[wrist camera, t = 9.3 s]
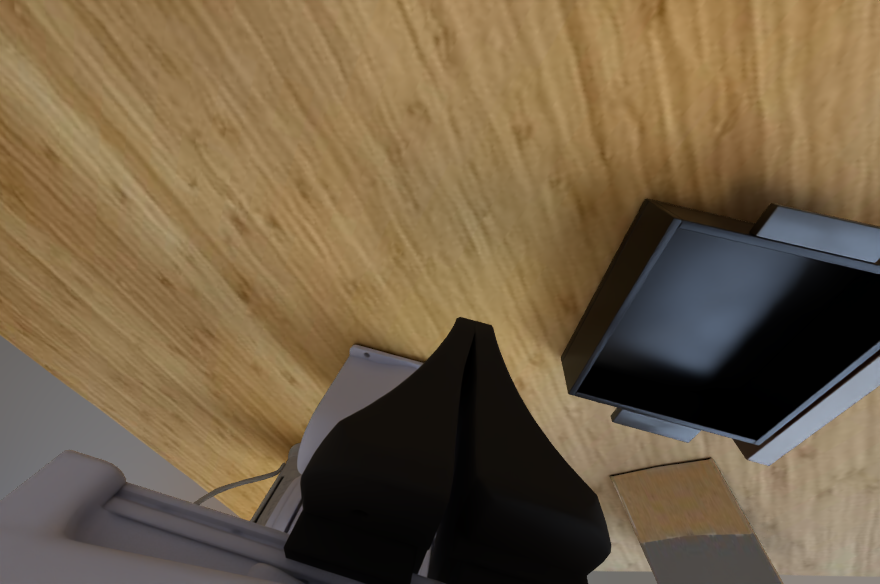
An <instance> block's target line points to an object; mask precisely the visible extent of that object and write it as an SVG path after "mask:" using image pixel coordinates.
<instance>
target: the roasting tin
mask: <svg viewBox="0 0 880 584" xmlns="http://www.w3.org/2000/svg"><path fill="white" fill-rule="evenodd" d="M878 350H880V226H875V225H871V224H866V223H862V222H857V221H853V220H848V219H844V218H839V217H835V216H830V215H826V214H821V213H817V212H812V211H808V210H803V209H799V208H794V207H790V206H785V205H781V204H776V203H770V205H769V206H768V207H767V209H766V210H765V211H764V213H763V214H762V215H761V217H760V218H759V219H758V221H757V222H756V223H752V222H748V221H743V220H739V219H734V218H730V217H726V216H721V215H717V214H712V213H708V212H704V211H699V210H695V209H690V208H686V207H681V206H677V205H673V204H668V203H664V202H659V201H655V200H651V199H645V201H644V202H643V204H642V206H641V208H640V210H639V212H638V214H637V216H636V217H635V219H634V221H633V223H632V225H631V227H630V229H629V231H628V233H627V234H626V236H625V238H624V240H623V242H622V244H621V246H620V248H619V249H618V251H617V253H616V255H615V257H614V259H613V261H612V263H611V265H610V266H609V268H608V270H607V272H606V274H605V276H604V278H603V280H602V281H601V283H600V285H599V287H598V289H597V291H596V293H595V295H594V296H593V298H592V300H591V302H590V304H589V306H588V308H587V310H586V312H585V313H584V315H583V317H582V319H581V321H580V323H579V325H578V327H577V328H576V330H575V332H574V334H573V336H572V338H571V340H570V342H569V344H568V345H567V347H566V349H565V351H564V353H563V355H562V357H561V361H562V365H563V370H564V375H565V380H566V385H567V390H568V394H570V395H575V396H577V397H581V398H585V399H588V400H592V401H596V402H599V403H603V404H607V405H611V406H614V407H617V408H616V410H615V411H614V412H613V414H612V415H611V419H612V422H614V423H618V424H622V425H625V426H629V427H633V428H636V429H640V430H644V431H647V432H651V433H654V434H658V435H662V436H665V437H669V438H673V439H676V440H680V441H684V442H687V443H688V442H690V441H691V440H692V439H693V438H694V437H695V436H696V435H697V434H698V433H699V432H700V431H701V430H703V431H707V432H710V433H714V434H718V435H722V436H725V437H729V438H733V439H736V440H740V441H744V442H747V443H751V444H755V445H760V444H761V443H763V442H764V441H765V440H766V439H768V438H769V437H770V436H771V435H773V434H774V433H775V432H777V431H778V430H779V429H780V428H782V427H783V426H784V425H785V424H787V423H788V422H789V421H790V420H792V419H793V418H794V417H795V416H797V415H798V414H799V413H800V412H802V411H803V410H804V409H805V408H807V407H808V406H809V405H810V404H812V403H813V402H814V401H815V400H817V399H818V398H819V397H820V396H822V395H823V394H824V393H826V392H827V391H828V390H829V389H831V388H832V387H833V386H834V385H836V384H837V383H838V382H839V381H841V380H842V379H843V378H844V377H846V376H847V375H848V374H849V373H851V372H852V371H853V370H854V369H856V368H857V367H858V366H859V365H861V364H862V363H863V362H864V361H866V360H867V359H868V358H869V357H871V356H872V355H873V354H874V353H876V352H877V351H878Z"/></svg>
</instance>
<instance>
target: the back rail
mask: <svg viewBox="0 0 880 584" xmlns="http://www.w3.org/2000/svg"><path fill="white" fill-rule="evenodd" d="M879 385H880V350H878V351H877V352H876V353H874V354H873V355H872V356H871V357H869V358H868V359H867V360H866V361H864V362H863V363H862V364H861V365H859V366H858V367H857V368H856V369H854V370H853V371H852V372H851V373H849V374H848V375H847V376H846V377H844V378H843V379H842V380H841V381H839V382H838V383H837V384H836V385H834V386H833V387H832V388H831V389H829V390H828V391H827V392H826V393H824V394H823V395H822V396H820V397H819V398H818V399H817V400H815V401H814V402H813V403H812V404H810V405H809V406H808V407H807V408H805V409H804V410H803V411H802V412H800V413H799V414H798V415H797V416H795V417H794V418H793V419H792V420H790V421H789V422H788V423H787V424H785V425H784V426H783V427H782V428H780V429H779V430H778V431H777V432H775V433H774V434H773V435H771V436H770V437H769V438H768V439H766V440H765V441H764V442H763V443H761V444H760V445H755V444H751V443H747V442H744V441H740V440H736V439H733V438H732V439H733V440H734V442H735V443H736V445H737V446H738V448H739V449H740V451H741V452H742V454H743V455H744V457H745V458H746V459H747V460H749V461H753V462H757V463H760V464H764V465H767V466H770V465H771V464H772V463H774V462H775V461H776V460H778V459H779V458H781V457H782V456H783V455H785V454H786V453H787V452H789V451H790V450H792V449H793V448H794V447H796V446H797V445H798V444H800V443H801V442H803V441H804V440H805V439H807V438H808V437H809V436H811V435H812V434H814V433H815V432H816V431H818V430H819V429H820V428H822V427H823V426H825V425H826V424H827V423H829V422H830V421H831V420H833V419H834V418H835V417H837V416H838V415H840V414H841V413H842V412H844V411H845V410H846V409H848V408H849V407H851V406H852V405H853V404H855V403H856V402H857V401H859V400H860V399H862V398H863V397H864V396H866V395H867V394H868V393H870V392H871V391H873V390H874V389H875V388H877V387H878V386H879Z"/></svg>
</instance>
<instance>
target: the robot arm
mask: <svg viewBox="0 0 880 584" xmlns="http://www.w3.org/2000/svg"><path fill="white" fill-rule="evenodd" d="M367 353H368V354H367ZM297 469H298V472H299V473H300V474H302V475H301V476H299V477H297V478H295V479H294V480H293V481H292V483H291V484H290V485H289V487H288V488H287V490H286V491H285V493H284V494H283V496H282V497H281V499H280V501H279V502H278V504H277V506H276V507H275V509H274V511H273V512H272V514H271V516H270V518H269V519H268V521H267V523H266V525H265V526H263V525H260V524H257V523H254V522H251V521H247V520H244V519H241V518H238V517H235V516H232V515H229V514H225V513H222V512H219V511H216V510H213V509H210V508H206V507H203V506H200V505H197V504H194V503H191V502H188V501H184V500H181V499H178V498H175V497H172V496H169V495H166V494H162V493H159V492H156V491H153V490H150V489H147V488H143V487H140V486H137V485H134V484H131V483H128V482H126V478H125V476H124V474H123V473H122V471H121V470H120V469H119V468H117V467H116V466H115V465H113V464H112V463H109V462H107V461H104V460H101V459H98V458H95V457H91V456H89V455H85V454H82V453H79V452H76V451H73V450H66V451H64V452H62V453H61V454H60V455H58V456H57V457H56V458H55V459H53V460H52V461H51V462H50V463H48V464H47V465H46V466H44V467H43V468H42V469H41V470H39V471H38V472H37V473H35V474H34V475H33V476H32V477H30V478H29V479H28V480H26V481H25V482H24V483H23V484H21V485H20V486H19V487H17V488H16V489H15V490H14V491H12V492H11V493H10V494H8V495H7V496H6V497H5V498H3V499H2V500H1V501H0V584H588V580H587V575H588V574H589V573H590V572H592V571H593V570H594V569H595V568H597V567H598V566H599V565H600V564H601V563H603V562H604V560H605V559H606V558H607V557H608V555H609V554H610V553H611V542H610V537H609V533H608V529H607V525H606V521H605V518H604V514H603V511H602V509H601V506H600V503H599V500H598V496H597V495H596V494H595V493H594V492H593V490H592V489H591V488H590V487H589V486H588V485H587V484H586V483H585V482H584V481H583V480H582V479H581V477H580V476H579V475H578V474H577V473H576V472H575V471H574V470H573V469H572V468H571V467H570V465H569V464H568V463H567V462H566V461H565V460H564V458H563V457H562V456H561V455H560V453H559V452H558V451H557V450H556V449H555V447H554V446H553V445H552V444H551V442H550V441H549V439H548V438H547V437H546V435H545V434H544V433H543V431H542V430H541V428H540V427H539V426H538V424H537V423H536V421H535V420H534V418H533V417H532V415H531V414H530V412H529V410H528V409H527V407H526V405H525V404H524V402H523V400H522V398H521V397H520V395H519V393H518V391H517V389H516V387H515V385H514V383H513V381H512V379H511V377H510V374H509V372H508V370H507V368H506V365H505V363H504V360H503V358H502V355H501V352H500V350H499V347H498V344H497V340H496V337H495V333H494V329H493V327H492V325H489V324H485V323H481V322H478V321H474V320H470V319H466V318H462V317H459V318H457V319H456V322H455V324H454V326H453V328H452V329H451V331H450V333H449V334H448V335H447V337H446V338H445V339H444V341H443V342H442V343H441V345H440V346H439V347H438V348H437V350H436V351H435V352H434V353H433V354H432V355H431V356H430V357H429V358H428V359H427V360H426V361H425V362H424V363H422V362H418V361H414V360H411V359H407V358H403V357H400V356H396V355H392V354H389V353H385V352H381V351H378V350H374V349H370V348H367V347H363V346H359V345H353V346H352V347H351V348H350V356H349V357H348V359H347V360H346V362H345V364H344V365H343V367H342V368H341V370H340V371H339V373H338V375H337V376H336V378H335V379H334V381H333V382H332V384H331V386H330V387H329V389H328V390H327V392H326V394H325V395H324V397H323V398H322V400H321V401H320V403H319V405H318V406H317V408H316V409H315V411H314V413H313V415H312V417H311V419H310V421H309V423H308V425H307V428H306V430H305V433H304V435H303V438H302V441H301V444H300V448H299V452H298V458H297Z"/></svg>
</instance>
